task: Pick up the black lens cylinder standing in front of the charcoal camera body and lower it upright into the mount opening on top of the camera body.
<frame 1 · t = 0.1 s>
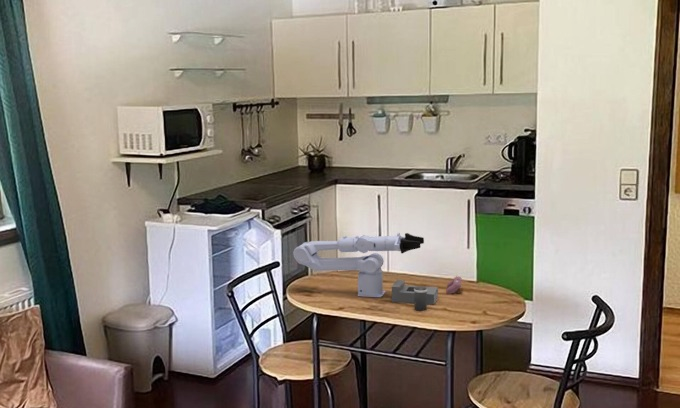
hand: (422, 242, 264), 22 cm above the table, tool horizontal, fingers open, 7 cm apart
pink rounded piece: (454, 291, 276), on the table
lens: (420, 309, 254), on the table
camera body: (415, 299, 265), on the table
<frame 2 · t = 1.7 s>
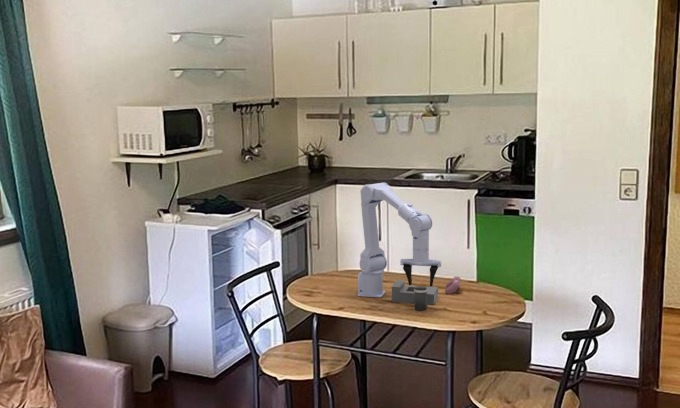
hand: (420, 285, 252), 9 cm above the table, tool pointing down, fingers open, 7 cm apart
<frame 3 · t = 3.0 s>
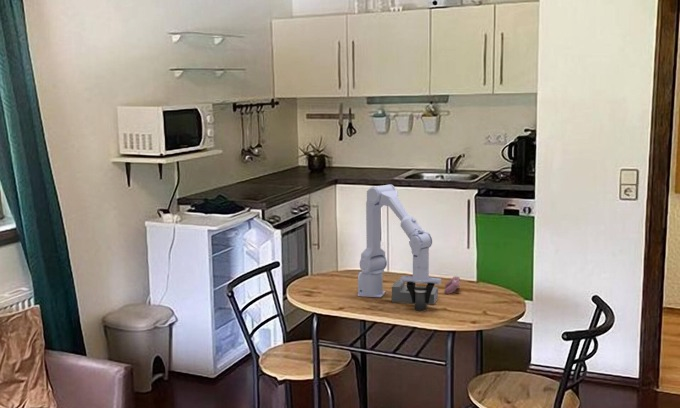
hand: (420, 302, 253), 2 cm above the table, tool pointing down, fingers closed on lens, 4 cm apart
lens: (420, 309, 254), on the table, touching gripper
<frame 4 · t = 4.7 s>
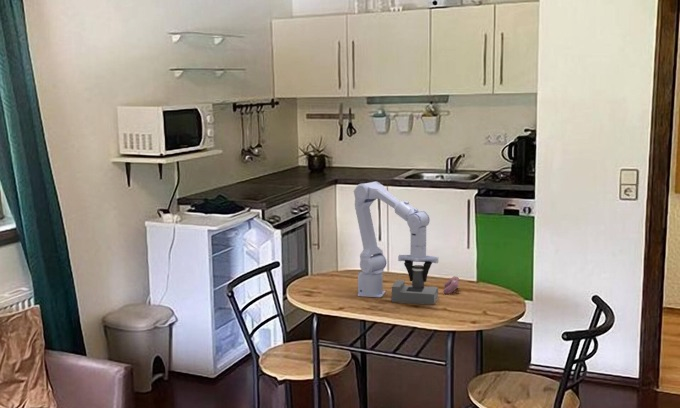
hand: (418, 280, 257), 9 cm above the table, tool pointing down, fingers closed on lens, 4 cm apart
lens: (418, 287, 257), point 7 cm above the table, touching gripper
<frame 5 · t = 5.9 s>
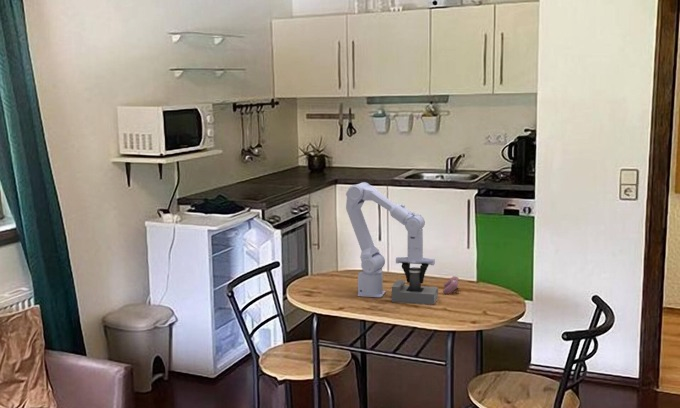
hand: (415, 282, 264), 7 cm above the table, tool pointing down, fingers closed on lens, 4 cm apart
lens: (415, 289, 264), point 4 cm above the table, touching gripper
when the fingers open (4 cm above the table, at t = 6.9 s): lens stays where it is, resting on camera body.
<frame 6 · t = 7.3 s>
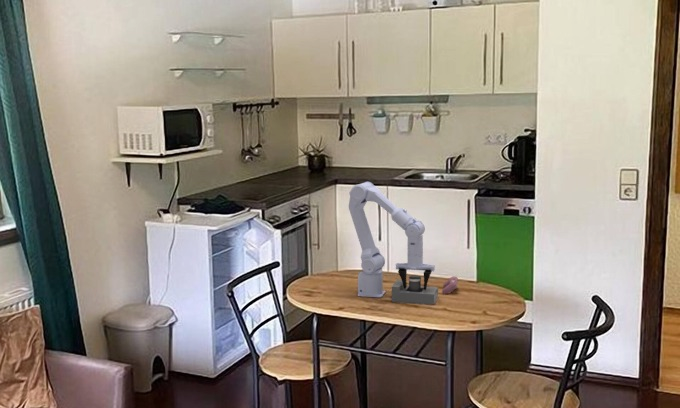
hand: (415, 288, 265), 4 cm above the table, tool pointing down, fingers open, 7 cm apart
lens: (414, 297, 265), point 1 cm above the table, touching camera body
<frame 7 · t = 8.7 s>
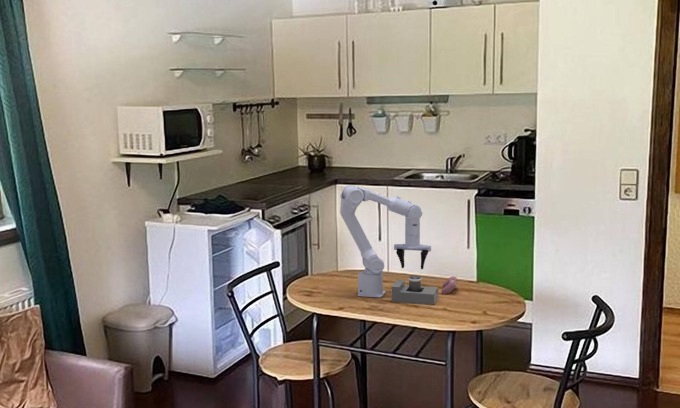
hand: (412, 268, 275), 9 cm above the table, tool pointing down, fingers open, 7 cm apart
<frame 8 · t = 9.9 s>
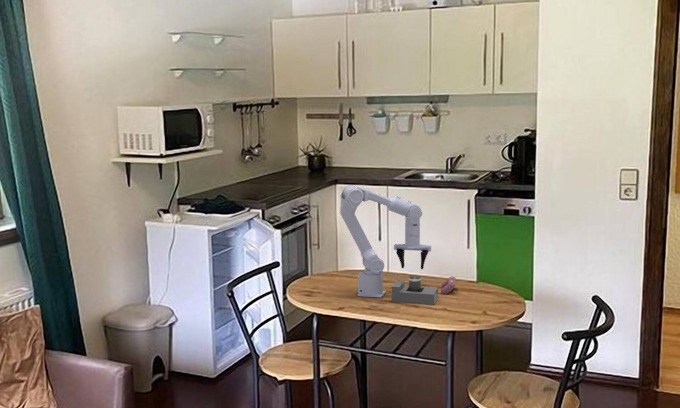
hand: (412, 268, 275), 9 cm above the table, tool pointing down, fingers open, 7 cm apart
at the end: lens 0.4 cm off-centre on the camera body, point 1.0 cm above the camera body's base; lens tilted 0°; the gripper is holding nothing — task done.
